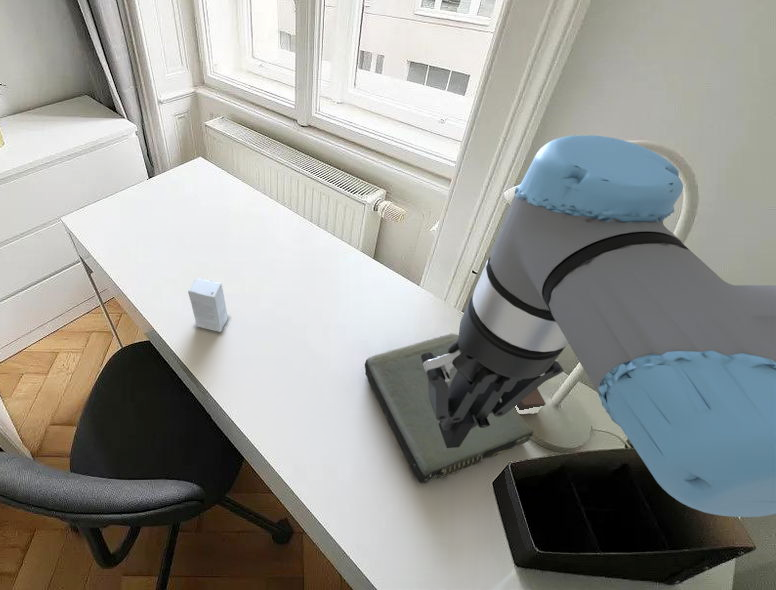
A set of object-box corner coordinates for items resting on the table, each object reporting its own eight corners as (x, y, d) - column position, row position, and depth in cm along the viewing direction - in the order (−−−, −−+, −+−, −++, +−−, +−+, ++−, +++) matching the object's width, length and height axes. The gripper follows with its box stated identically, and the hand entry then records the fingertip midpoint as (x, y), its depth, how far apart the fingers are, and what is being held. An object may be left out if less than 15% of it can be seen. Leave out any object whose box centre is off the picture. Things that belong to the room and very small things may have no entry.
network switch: (428, 504, 64) (436, 493, 61) (349, 376, 81) (351, 362, 77) (536, 438, 71) (547, 426, 68) (442, 333, 88) (448, 319, 84)
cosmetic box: (228, 317, 92) (222, 282, 85) (221, 333, 89) (214, 298, 81) (204, 311, 94) (196, 276, 86) (195, 326, 90) (187, 291, 83)
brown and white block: (537, 414, 74) (546, 403, 72) (515, 415, 74) (523, 405, 72) (520, 382, 79) (528, 372, 76) (500, 384, 79) (507, 373, 76)
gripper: (568, 277, 37) (488, 401, 52) (425, 284, 37) (386, 407, 52) (627, 350, 31) (517, 467, 46) (458, 360, 31) (403, 474, 46)
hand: (448, 435), depth 49 cm, fingers closed
